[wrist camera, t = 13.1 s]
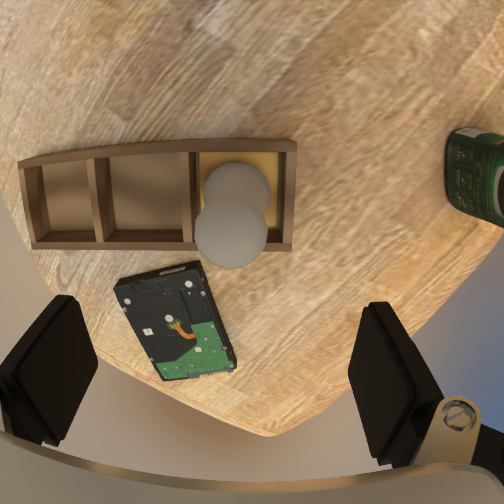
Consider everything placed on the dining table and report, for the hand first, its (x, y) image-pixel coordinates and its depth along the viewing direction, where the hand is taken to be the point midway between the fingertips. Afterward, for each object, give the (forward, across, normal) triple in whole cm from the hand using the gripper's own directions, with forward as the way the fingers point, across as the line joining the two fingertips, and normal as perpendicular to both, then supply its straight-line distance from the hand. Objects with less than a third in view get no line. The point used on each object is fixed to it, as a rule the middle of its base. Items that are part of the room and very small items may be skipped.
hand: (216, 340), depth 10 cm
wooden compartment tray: (+22, +9, 0) cm, 24 cm away
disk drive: (+23, +7, +16) cm, 29 cm away
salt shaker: (+22, 0, 0) cm, 22 cm away
